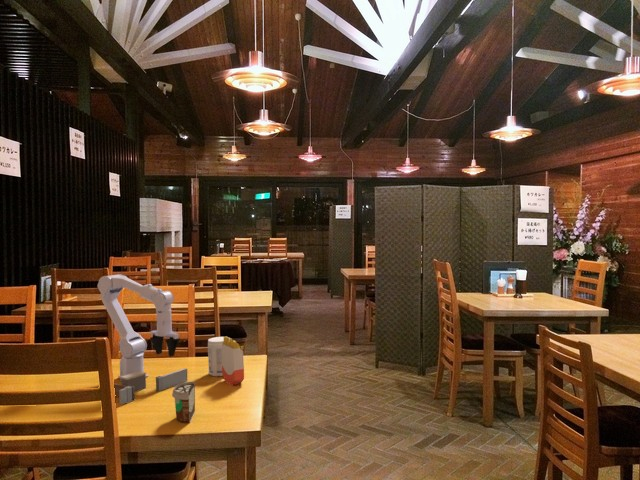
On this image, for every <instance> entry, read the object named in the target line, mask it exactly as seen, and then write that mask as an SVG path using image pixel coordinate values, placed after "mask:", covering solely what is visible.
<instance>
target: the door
mask: <svg viewBox="0 0 640 480" xmlns="http://www.w3.org/2000/svg"><path fill="white" fill-rule="evenodd" d="M113 383H114V388H115V395H116V397H115V398H119V390H121V389H124V387H127V386H126V385H121V383H120V384H119V383H117V382H116V383H115V382H113ZM130 387H132V402H133V401H135V392H134V386H130Z"/></svg>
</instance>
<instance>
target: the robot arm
mask: <svg viewBox="0 0 640 480" xmlns="http://www.w3.org/2000/svg"><path fill="white" fill-rule="evenodd" d="M97 289H98V290H99V292H100V298H101V302H102V304H103V305H104V307H105V309H106V311H107V313H108V315H109V318H110V319H111V321H112V323H113V325H114V327H115V329H116V330H117V333H118V334H119V337H120V339H119V341H118V346H119V349H120V351H119V352H120V353H121V356H122V357H121V358H120V361H119V375H118V377H117V378H118V379H121V376H125V375H128V374H131V373H134V372H138V371H141V372H145V370H144V369H145V368H144V365H145V364H144V354H145V351H146V350H147V347H148V344H147V341H146V339H144V338H143V337H142V336H141V334H140V333H138V332H136V331H134V329H133V327H132V324H131V323H130V321H129V319H128V316H127V315H126V313H125V311H124V310H123V307H122V305H121V304H120V302H119V300H118V298H119V295H120V293H121V292H122V290H123V289H127V290H130V291H132V292H136V293H137V294H139V296H140V298H142V299H144V300H147V301H148V302H151V303H152V304H153V305H154V307H155V313H156V329H155V330H151V331H150V336H151V337H150V338H149V340H150V341H151V343H152V344H153V347H154V350H155V354H156V355H161V354H162V353H163V343H164V338H168V339H165V343H166V346H167V352H168V356H169V357H174V356H175V354H176V349H177V346H178V344H179V342H180V340H181V338H180V334H179V333H177V332H175V331H174V330H173V325H172V324H173V323H172V304H173V302H174V300H175V296H174V294H173V293H172V292H171V291H170V290H164V291H163V290H162V288H157V287H155V286H153V284H151V283H149V284H144V285H143V284H142V283H141V284H140V283H139V282H137V281H135V280H133V279H131V278H129V277H127V275H123V274H121V273H117V274H114V275H113V274H112V275H103V276H101V277H100V278H99V279H98V283H97ZM146 377H149V374H146Z"/></svg>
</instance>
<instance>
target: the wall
mask: <svg viewBox="0 0 640 480" xmlns="http://www.w3.org/2000/svg"><path fill="white" fill-rule="evenodd" d="M185 382H188V368H187V367H186V368H182V369H179V370H176V371H173V372H170V373H166V374H163V375H158V376H156V377H155V391H156V392H162V391H163V390H166V389H170V388H172V387H175V386H177V385H179V384H181V383H185ZM118 398H119V405H121V406H122V405H125V404H128V403H132V402H133V401H132V387H130V386H127V387H124V389H121V390H119V397H118Z"/></svg>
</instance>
